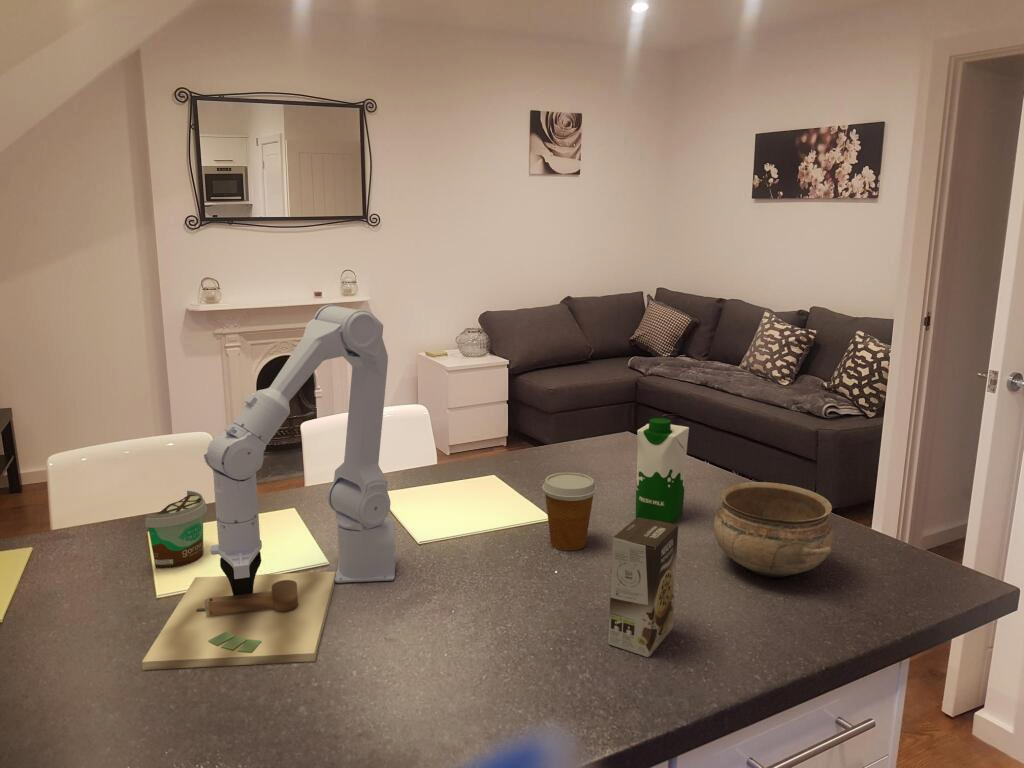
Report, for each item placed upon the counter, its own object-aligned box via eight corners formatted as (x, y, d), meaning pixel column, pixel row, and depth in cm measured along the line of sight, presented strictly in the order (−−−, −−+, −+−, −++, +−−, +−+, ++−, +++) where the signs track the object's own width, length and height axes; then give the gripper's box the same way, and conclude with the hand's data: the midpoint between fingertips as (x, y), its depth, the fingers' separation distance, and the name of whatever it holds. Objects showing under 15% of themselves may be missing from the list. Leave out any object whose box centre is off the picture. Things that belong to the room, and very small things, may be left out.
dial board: (335, 578, 128) (335, 570, 128) (314, 661, 105) (314, 651, 105) (196, 584, 126) (195, 576, 126) (142, 670, 103) (141, 660, 103)
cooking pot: (680, 547, 141) (683, 482, 138) (767, 532, 147) (772, 470, 144) (771, 613, 118) (777, 537, 115) (870, 593, 124) (878, 520, 122)
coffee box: (650, 659, 106) (655, 547, 102) (606, 645, 109) (610, 536, 106) (674, 629, 113) (680, 524, 110) (633, 616, 117) (637, 514, 113)
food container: (183, 575, 129) (178, 518, 127) (150, 572, 130) (144, 515, 128) (224, 544, 141) (220, 492, 139) (193, 541, 142) (188, 489, 140)
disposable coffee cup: (534, 549, 139) (534, 485, 137) (551, 529, 148) (552, 468, 145) (585, 558, 136) (587, 493, 133) (600, 537, 144) (602, 475, 142)
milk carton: (629, 519, 153) (633, 419, 149) (647, 504, 161) (652, 409, 156) (672, 529, 149) (677, 426, 144) (689, 513, 156) (694, 416, 152)
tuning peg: (298, 598, 119) (297, 578, 118) (297, 610, 115) (296, 589, 115) (207, 608, 116) (205, 588, 115) (204, 620, 112) (202, 600, 112)
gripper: (208, 501, 118) (214, 584, 121) (207, 539, 105) (214, 631, 108) (257, 496, 121) (262, 577, 124) (262, 532, 108) (268, 622, 111)
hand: (243, 602), depth 116 cm, fingers closed, pressing on tuning peg
